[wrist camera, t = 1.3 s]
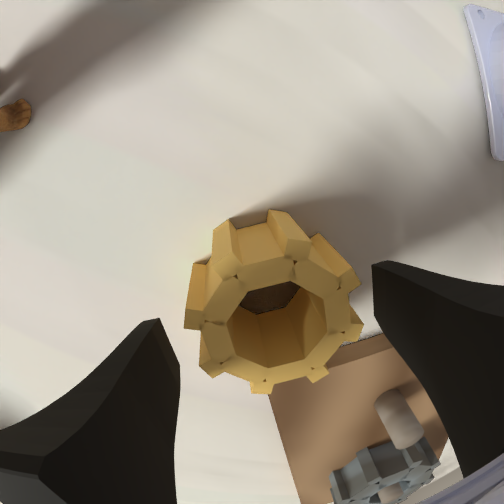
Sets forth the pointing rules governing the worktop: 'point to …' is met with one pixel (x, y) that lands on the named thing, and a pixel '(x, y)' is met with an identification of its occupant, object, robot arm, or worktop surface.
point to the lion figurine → (15, 116)
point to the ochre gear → (278, 321)
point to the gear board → (359, 428)
